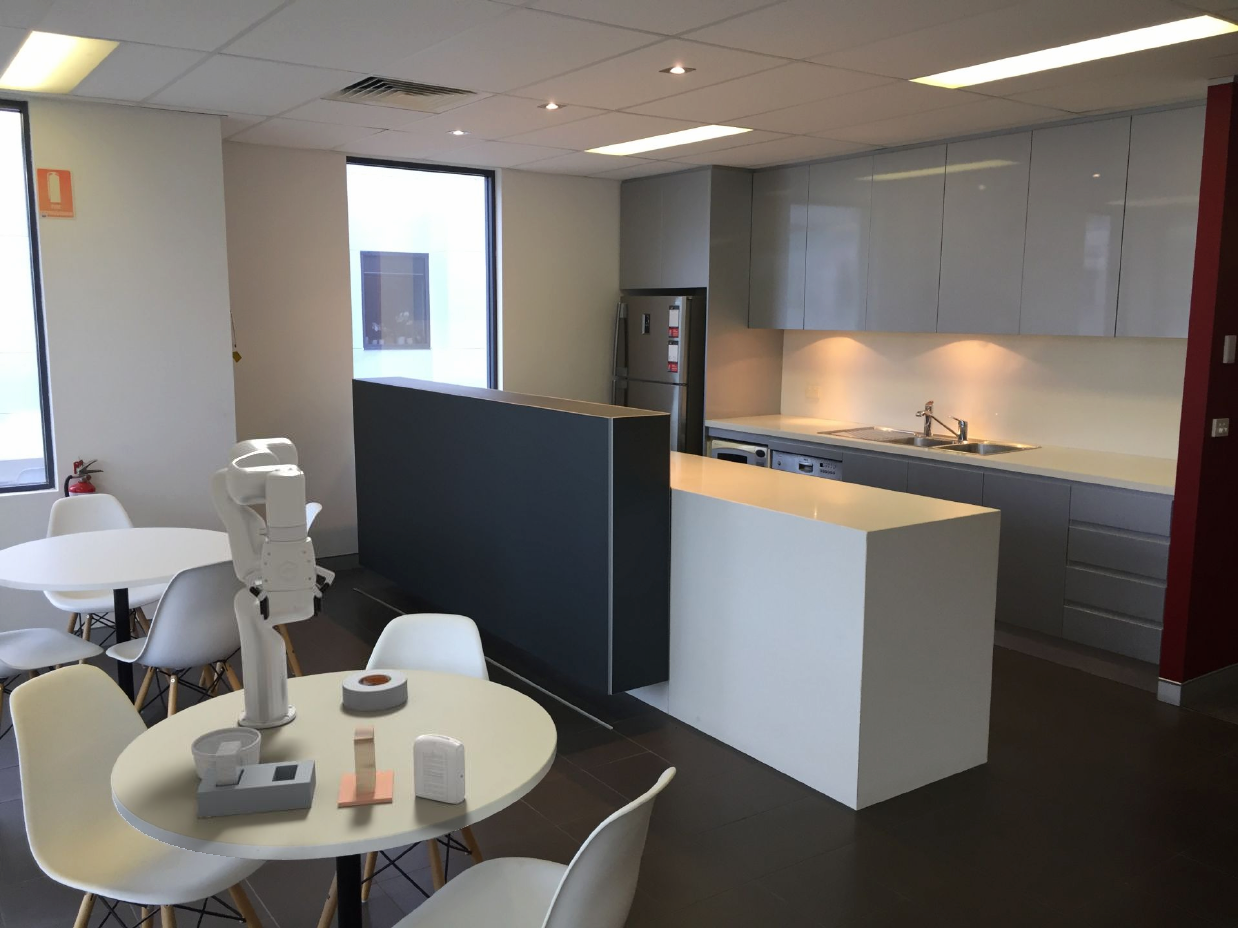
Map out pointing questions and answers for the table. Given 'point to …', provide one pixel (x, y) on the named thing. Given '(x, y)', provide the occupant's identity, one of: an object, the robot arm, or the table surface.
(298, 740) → the table surface
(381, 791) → the mat
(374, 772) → the beech plug
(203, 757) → the ramekin
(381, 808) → the table surface
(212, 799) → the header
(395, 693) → the tape roll
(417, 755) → the photo printer
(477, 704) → the table surface
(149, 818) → the table surface
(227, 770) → the steel plug
